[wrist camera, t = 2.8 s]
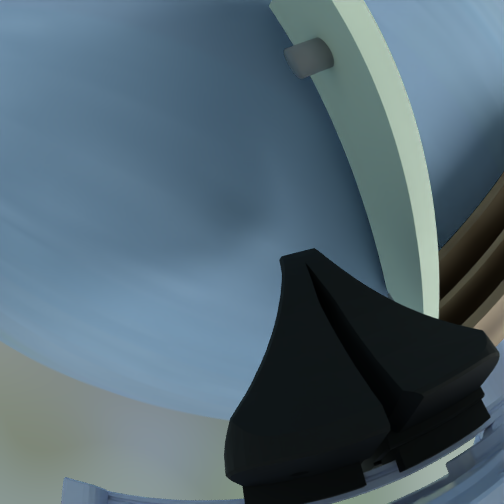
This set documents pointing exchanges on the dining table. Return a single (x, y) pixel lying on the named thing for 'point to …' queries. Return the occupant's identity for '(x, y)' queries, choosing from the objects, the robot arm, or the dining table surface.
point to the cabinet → (476, 269)
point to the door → (371, 136)
